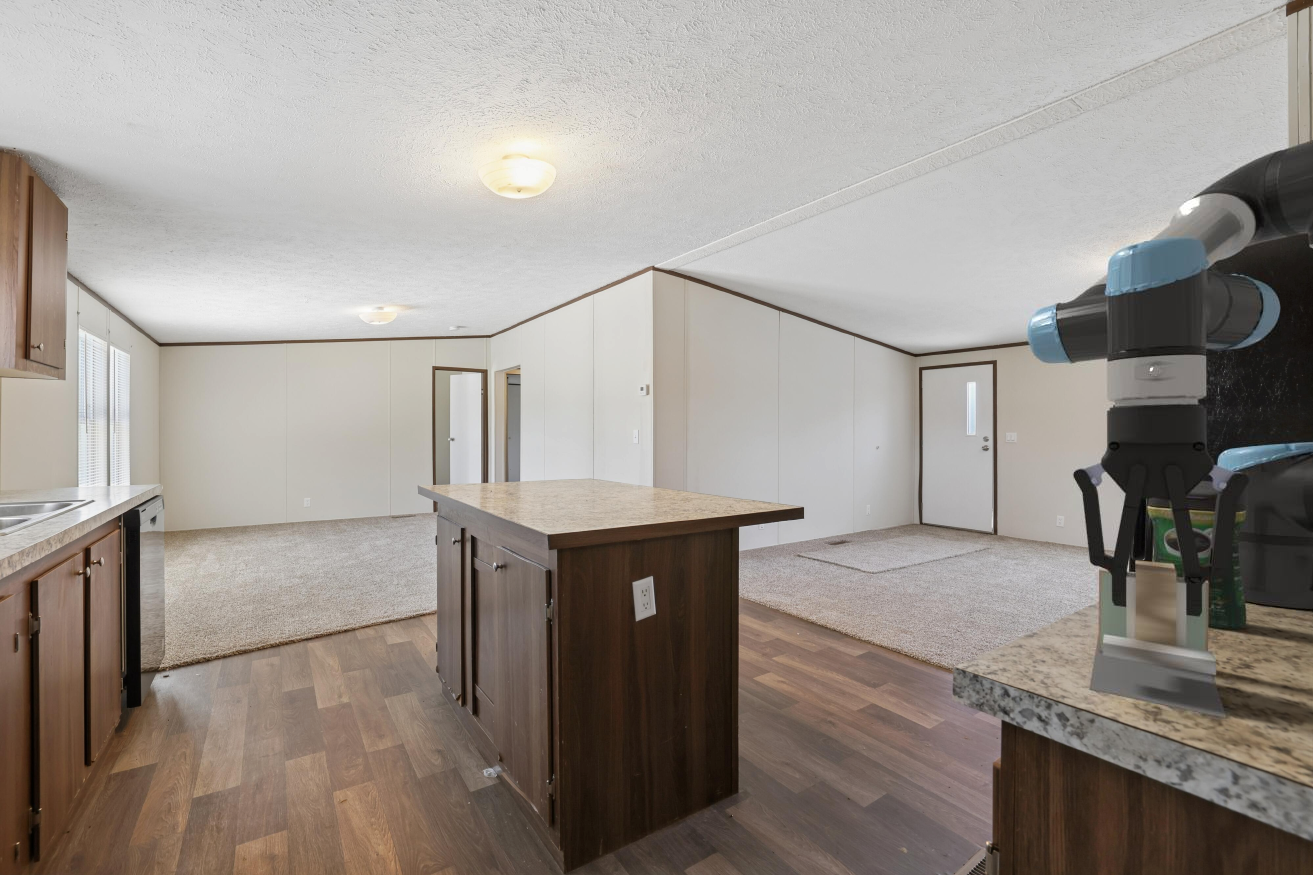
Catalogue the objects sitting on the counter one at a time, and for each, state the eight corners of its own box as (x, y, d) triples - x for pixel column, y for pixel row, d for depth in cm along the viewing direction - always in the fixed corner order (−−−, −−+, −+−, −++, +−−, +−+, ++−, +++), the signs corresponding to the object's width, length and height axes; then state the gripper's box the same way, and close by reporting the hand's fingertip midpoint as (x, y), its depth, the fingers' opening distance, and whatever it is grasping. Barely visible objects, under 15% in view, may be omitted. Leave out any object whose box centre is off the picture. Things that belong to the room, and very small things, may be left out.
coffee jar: (1251, 625, 79) (1252, 481, 79) (1238, 637, 74) (1239, 484, 74) (1157, 608, 87) (1158, 477, 87) (1139, 618, 82) (1141, 479, 82)
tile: (1206, 667, 63) (1207, 580, 63) (1208, 671, 62) (1208, 582, 62) (1098, 648, 69) (1099, 568, 68) (1098, 651, 67) (1099, 570, 67)
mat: (1200, 645, 71) (1200, 641, 71) (1226, 723, 52) (1226, 717, 52) (1099, 629, 77) (1099, 625, 77) (1089, 694, 58) (1089, 688, 58)
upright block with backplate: (1207, 648, 60) (1206, 567, 60) (1216, 674, 54) (1215, 583, 53) (1105, 632, 65) (1105, 557, 65) (1102, 655, 58) (1102, 571, 58)
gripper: (1053, 405, 62) (1053, 637, 62) (1278, 399, 52) (1278, 675, 52) (1059, 407, 68) (1060, 619, 68) (1263, 401, 58) (1263, 649, 58)
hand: (1155, 643), depth 60 cm, fingers closed on upright block with backplate, 3 cm apart
